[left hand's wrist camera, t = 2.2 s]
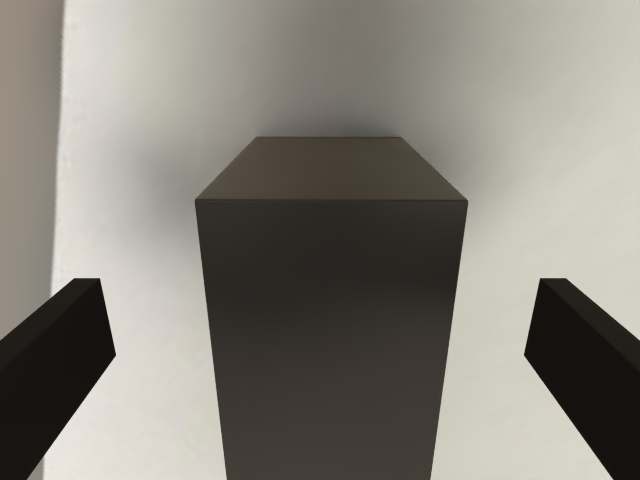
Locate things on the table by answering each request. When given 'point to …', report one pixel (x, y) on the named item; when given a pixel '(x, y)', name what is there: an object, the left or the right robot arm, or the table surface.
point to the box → (330, 306)
